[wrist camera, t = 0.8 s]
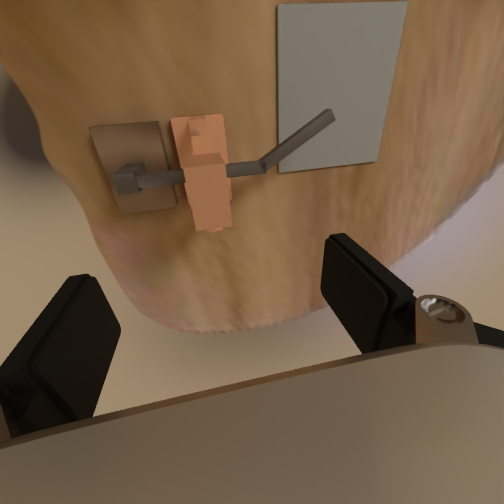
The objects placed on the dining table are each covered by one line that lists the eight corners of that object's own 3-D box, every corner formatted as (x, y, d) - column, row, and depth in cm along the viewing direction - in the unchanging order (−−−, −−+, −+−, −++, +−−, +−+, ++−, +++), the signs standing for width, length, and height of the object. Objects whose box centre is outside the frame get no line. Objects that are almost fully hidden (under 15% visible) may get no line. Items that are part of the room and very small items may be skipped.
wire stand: (94, 125, 27) (64, 131, 21) (308, 108, 31) (337, 108, 24) (124, 209, 33) (107, 233, 26) (305, 186, 36) (328, 203, 30)
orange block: (171, 117, 28) (149, 127, 15) (221, 113, 29) (242, 119, 16) (189, 202, 34) (184, 261, 21) (231, 196, 35) (252, 250, 22)
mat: (277, 5, 25) (278, 4, 25) (405, 2, 27) (408, 1, 27) (278, 172, 34) (279, 172, 34) (375, 160, 36) (376, 161, 36)
